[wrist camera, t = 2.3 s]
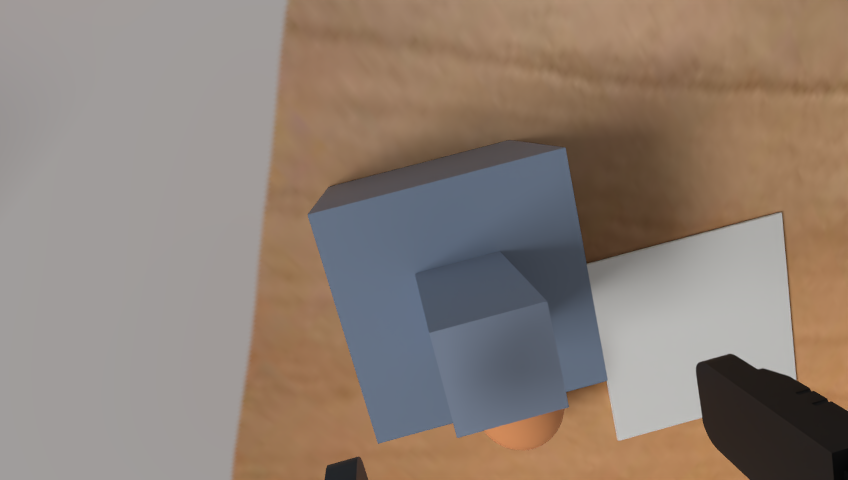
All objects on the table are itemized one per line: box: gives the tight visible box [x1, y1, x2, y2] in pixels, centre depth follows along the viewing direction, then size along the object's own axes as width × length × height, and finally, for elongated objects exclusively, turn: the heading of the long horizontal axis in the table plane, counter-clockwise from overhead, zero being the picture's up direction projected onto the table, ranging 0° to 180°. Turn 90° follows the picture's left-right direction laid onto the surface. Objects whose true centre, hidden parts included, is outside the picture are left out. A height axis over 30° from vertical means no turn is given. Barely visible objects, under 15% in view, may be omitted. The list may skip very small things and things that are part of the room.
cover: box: [308, 140, 608, 444], centre depth 23 cm, size 10×10×15 cm
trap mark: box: [587, 212, 796, 441], centre depth 32 cm, size 12×12×1 cm
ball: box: [484, 409, 564, 450], centre depth 29 cm, size 5×5×5 cm
